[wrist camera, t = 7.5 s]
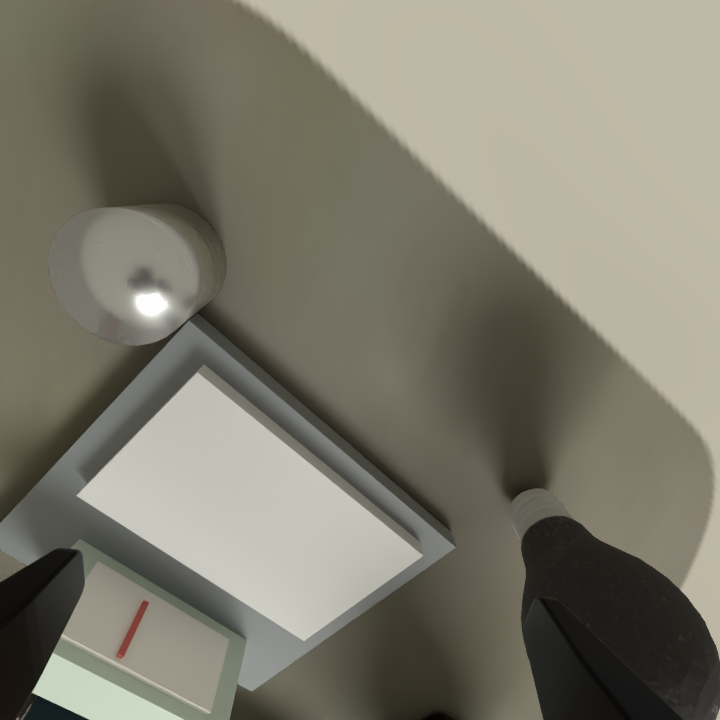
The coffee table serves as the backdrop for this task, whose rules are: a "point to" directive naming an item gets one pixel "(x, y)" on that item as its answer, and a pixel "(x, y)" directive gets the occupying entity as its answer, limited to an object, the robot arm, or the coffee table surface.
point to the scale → (210, 537)
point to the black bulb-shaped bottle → (619, 604)
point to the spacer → (136, 270)
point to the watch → (48, 711)
